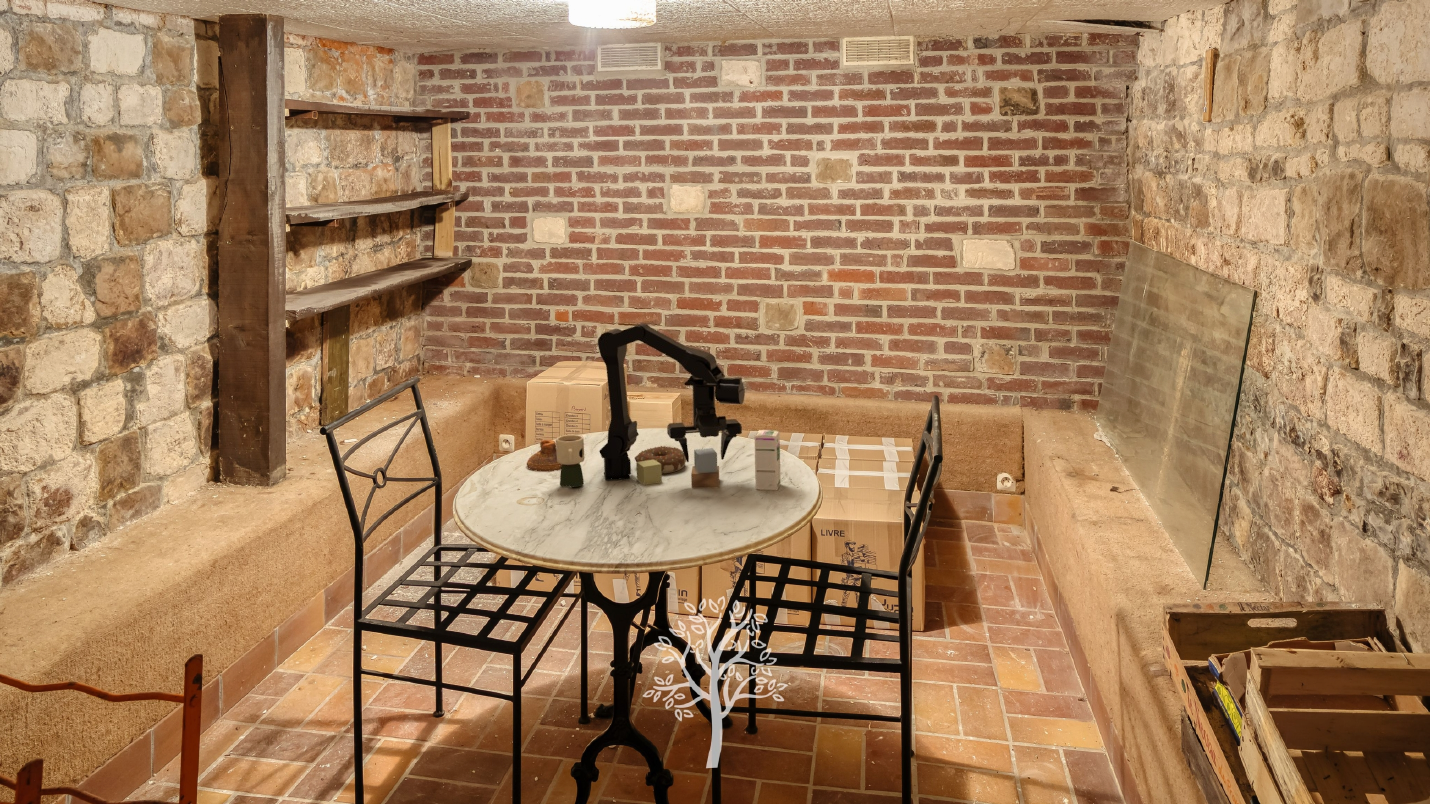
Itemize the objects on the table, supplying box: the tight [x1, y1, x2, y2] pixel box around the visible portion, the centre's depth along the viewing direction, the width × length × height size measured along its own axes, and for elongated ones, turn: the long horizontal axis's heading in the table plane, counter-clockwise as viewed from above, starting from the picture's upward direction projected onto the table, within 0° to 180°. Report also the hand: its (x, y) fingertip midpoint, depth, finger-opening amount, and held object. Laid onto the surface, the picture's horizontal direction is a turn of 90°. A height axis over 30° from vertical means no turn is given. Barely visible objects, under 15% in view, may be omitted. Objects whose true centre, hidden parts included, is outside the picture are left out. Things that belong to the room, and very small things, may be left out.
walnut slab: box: [690, 465, 720, 489], centre depth 264 cm, size 7×7×4 cm
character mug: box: [555, 434, 585, 488], centre depth 262 cm, size 11×7×13 cm, turn 9°
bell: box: [526, 439, 562, 472], centre depth 282 cm, size 12×12×7 cm
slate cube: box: [693, 447, 718, 473], centre depth 262 cm, size 5×5×5 cm
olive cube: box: [635, 459, 663, 486], centre depth 266 cm, size 5×5×5 cm
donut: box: [634, 445, 687, 474], centre depth 278 cm, size 14×14×5 cm
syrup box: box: [754, 429, 781, 491], centre depth 259 cm, size 6×6×14 cm
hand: (705, 460), depth 263 cm, fingers open, 9 cm apart
